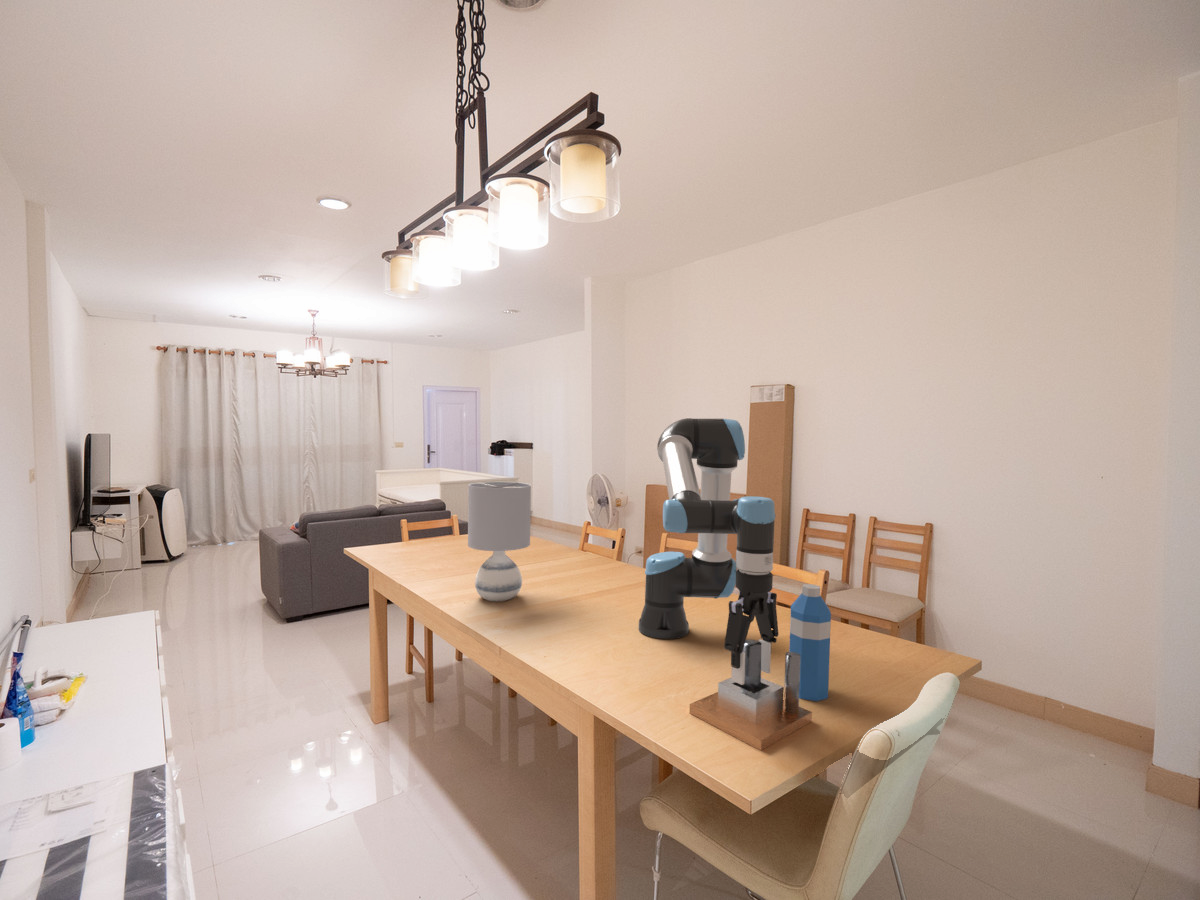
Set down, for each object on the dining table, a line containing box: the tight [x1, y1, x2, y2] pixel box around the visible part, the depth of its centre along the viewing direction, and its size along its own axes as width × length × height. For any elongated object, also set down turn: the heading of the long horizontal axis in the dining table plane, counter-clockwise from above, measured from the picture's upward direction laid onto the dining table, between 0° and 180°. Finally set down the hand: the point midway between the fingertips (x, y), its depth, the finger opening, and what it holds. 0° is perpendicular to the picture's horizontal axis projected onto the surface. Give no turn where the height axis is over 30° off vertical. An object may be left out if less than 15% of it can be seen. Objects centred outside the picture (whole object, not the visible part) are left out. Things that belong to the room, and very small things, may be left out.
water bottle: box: [788, 583, 832, 702], centre depth 133 cm, size 9×9×25 cm
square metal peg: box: [741, 638, 762, 693], centre depth 121 cm, size 4×4×14 cm
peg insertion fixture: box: [688, 651, 813, 751], centre depth 121 cm, size 18×18×14 cm
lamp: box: [467, 481, 532, 603], centre depth 202 cm, size 22×22×40 cm
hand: (751, 676), depth 121 cm, fingers open, 8 cm apart
